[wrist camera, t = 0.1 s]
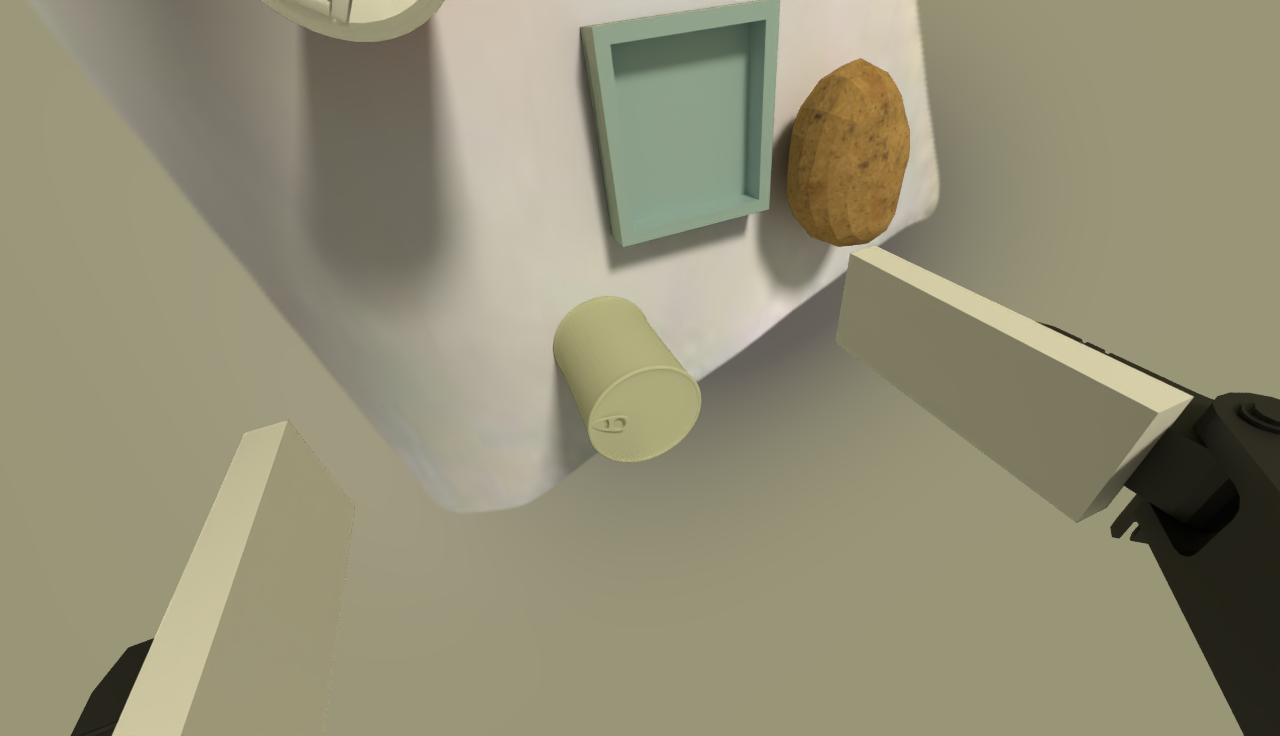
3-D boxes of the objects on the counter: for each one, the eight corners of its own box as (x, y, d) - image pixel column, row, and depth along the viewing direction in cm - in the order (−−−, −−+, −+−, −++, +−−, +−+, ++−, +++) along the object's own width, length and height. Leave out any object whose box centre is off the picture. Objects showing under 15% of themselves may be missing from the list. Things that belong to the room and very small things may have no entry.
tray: (579, 27, 31) (592, 27, 29) (757, 0, 34) (780, -2, 31) (612, 235, 39) (622, 247, 37) (751, 200, 42) (769, 209, 40)
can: (554, 298, 41) (593, 377, 31) (654, 293, 44) (716, 363, 35) (552, 387, 45) (585, 477, 36) (642, 376, 49) (693, 457, 40)
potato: (862, 36, 38) (948, 37, 32) (858, 204, 47) (924, 230, 40) (754, 81, 37) (821, 91, 30) (771, 244, 46) (826, 277, 39)
